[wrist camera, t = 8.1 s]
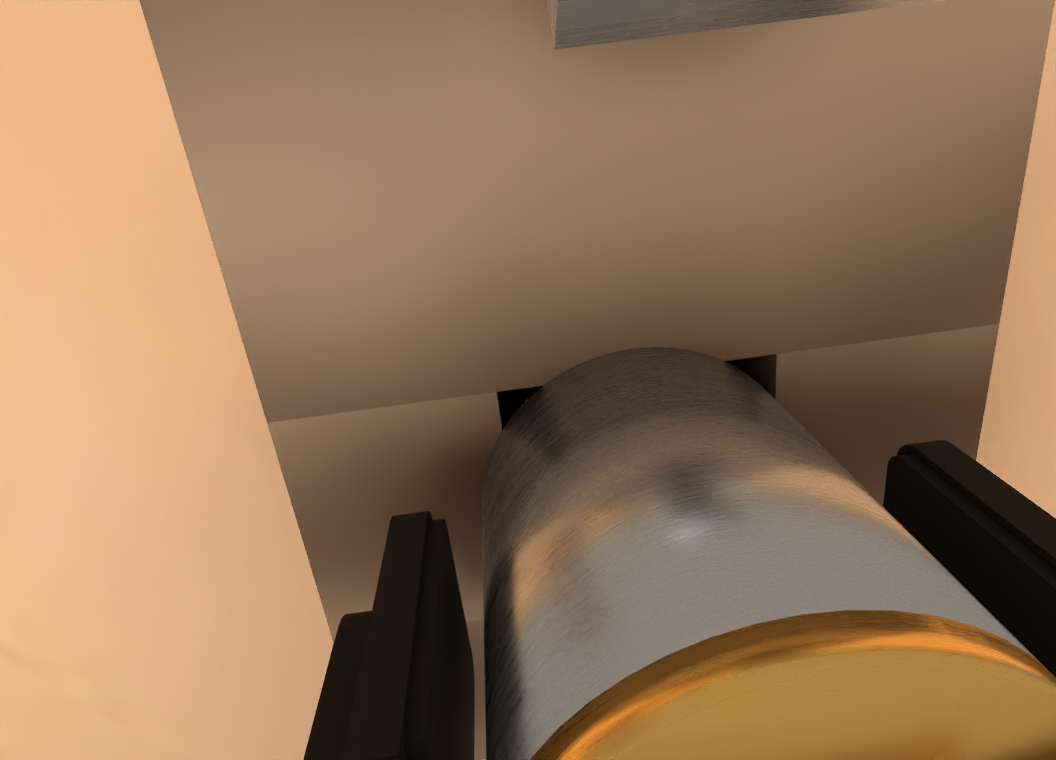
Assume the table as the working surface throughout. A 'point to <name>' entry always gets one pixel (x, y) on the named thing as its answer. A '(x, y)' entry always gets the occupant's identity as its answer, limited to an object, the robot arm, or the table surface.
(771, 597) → the gold-lidded jar
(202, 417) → the table surface
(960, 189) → the block
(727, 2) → the keeper bar
